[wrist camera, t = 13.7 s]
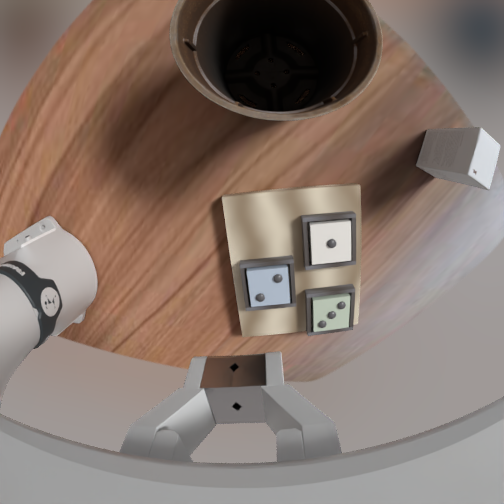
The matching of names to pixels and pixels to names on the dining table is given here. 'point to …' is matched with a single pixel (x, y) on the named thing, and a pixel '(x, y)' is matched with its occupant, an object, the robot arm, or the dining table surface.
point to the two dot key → (268, 285)
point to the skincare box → (460, 155)
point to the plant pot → (277, 53)
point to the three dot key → (330, 312)
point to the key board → (291, 252)
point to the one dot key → (329, 241)
